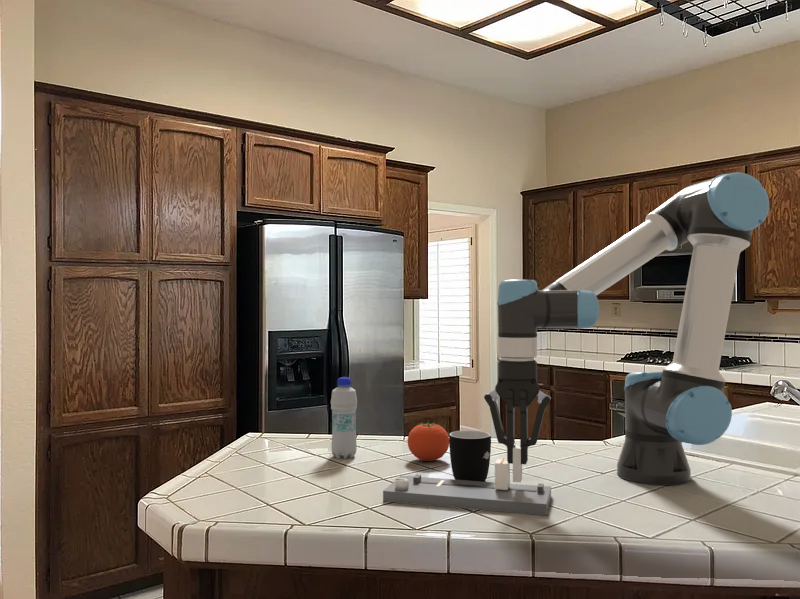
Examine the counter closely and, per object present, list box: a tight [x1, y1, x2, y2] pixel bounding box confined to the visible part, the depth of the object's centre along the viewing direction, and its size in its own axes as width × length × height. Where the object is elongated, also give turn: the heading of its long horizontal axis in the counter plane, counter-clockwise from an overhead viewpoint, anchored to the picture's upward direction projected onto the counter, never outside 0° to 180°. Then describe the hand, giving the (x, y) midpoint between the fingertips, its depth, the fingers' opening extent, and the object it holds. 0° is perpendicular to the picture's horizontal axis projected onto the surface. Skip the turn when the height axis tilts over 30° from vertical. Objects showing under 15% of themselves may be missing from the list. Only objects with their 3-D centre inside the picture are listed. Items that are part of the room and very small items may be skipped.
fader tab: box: [494, 458, 511, 490], centre depth 130 cm, size 2×4×5 cm, turn 163°
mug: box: [448, 429, 492, 482], centre depth 144 cm, size 12×9×10 cm
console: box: [382, 474, 552, 516], centre depth 130 cm, size 31×12×4 cm, turn 73°
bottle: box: [330, 376, 358, 460], centre depth 166 cm, size 7×7×20 cm
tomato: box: [406, 419, 450, 462], centre depth 162 cm, size 10×10×10 cm
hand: (517, 480), depth 129 cm, fingers closed
